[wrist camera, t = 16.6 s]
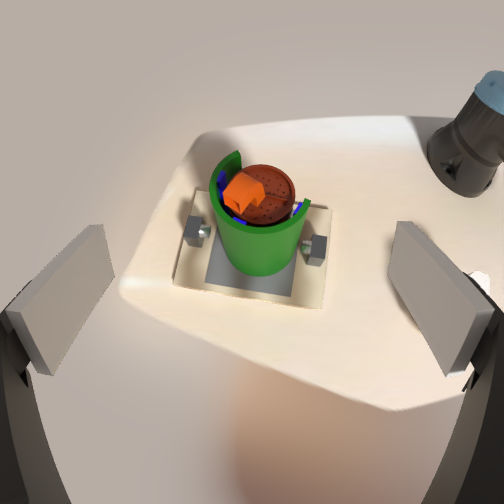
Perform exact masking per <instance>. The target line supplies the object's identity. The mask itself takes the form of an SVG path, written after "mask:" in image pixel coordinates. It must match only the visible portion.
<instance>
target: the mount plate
mask: <svg viewBox="0 0 504 504" xmlns="http://www.w3.org/2000/svg"><path fill="white" fill-rule="evenodd" d="M297 206H298V205H297V204H294V205H293V210H292V214H291V218H292V216H293V212H294V211H295V209H296V208H297ZM190 215H191V216H198V217H203V220H204V222H205V225H211V234H210V237H209V238H204V242H203V246H202V248H198V247H192V246H188V244H187V242H186V241H185V239H184V240H183V244H182V248H181V252H180V256H179V261H178V265H177V269H176V273H175V277H174V282H173V284H174V285H175V286H179V287H184V288H189V289H195V290H200V291H205V292H211V293H216V294H222V295H228V296H233V297H239V298H245V299H251V300H257V301H263V302H269V303H275V304H281V305H288V306H294V307H301V308H308V309H314V310H321V309H322V304H323V296H324V288H325V280H326V271H327V262H328V252H329V242H330V232H331V220H332V210H327V209H321V208H315V207H309V209H308V212H307V215H306V218H305V221H304V224H303V227H302V230H301V233H300V236H299V239H298V242H297V245H296V248H295V251H294V254H293V257H292V259H291V260H290V262H289V263H288V264H287V266H286V267H284V268H283V269H282V270H281V271H279V272H277V273H275V274H273V275H270V276H264V277H256V276H250V275H247V274H245V273H242V272H241V271H239V270H238V269H236V268H235V267H234V266H233V265H232V264H231V262H230V261H229V259H228V257H227V255H226V252H225V249H224V245H223V242H222V238H221V235H220V231H219V228H218V224H217V221H216V217H215V214H214V210H213V206H212V203H211V199H210V194H209V192H206V191H198V190H197V191H196V195H195V199H194V202H193V206H192V210H191V213H190ZM313 234H315V235H321V236H327V247H326V256H325V260H324V262H323V263H322V265H321V266H320V267H317V266H310V265H306V262H307V254H304V253H301V244H302V240H308V241H310V240H311V237H312V235H313Z"/></svg>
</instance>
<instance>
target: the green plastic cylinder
mask: <svg viewBox="0 0 504 504" xmlns="http://www.w3.org/2000/svg"><path fill="white" fill-rule="evenodd" d="M209 194H210V199H211V203H212V206H213V210H214V214H215V217H216V221H217V224H218V228H219V231H220V235H221V238H222V242H223V245H224V249H225V252H226V255H227V257H228V259H229V261H230V262H231V264H232V265H233V266H234V267H235V268H236V269H238V270H239V271H241V272H242V273H245V274H247V275H250V276H256V277H264V276H270V275H273V274H275V273H277V272H279V271H281V270H282V269H283V268H284V267H286V266H287V264H288V263H289V262H290V260H291V259H292V257H293V254H294V251H295V248H296V245H297V242H298V239H299V236H300V233H301V230H302V227H303V224H304V221H305V218H306V215H307V212H308V209H309V206H310V203H311V200H308V199H306V198H305V199H304V202H303V203H299V204H298V206H297V208H296V209H295V211H294V212H293V216H292V218H291V214H292V210H293V205H294V201H295V188H294V185H293V183H292V181H291V179H290V178H289V177H288V176H287V175H286V174H285V173H284V172H283V171H281V170H280V169H278V168H276V167H273V166H270V165H262V164H260V165H252V166H248V167H246V168H244V169H242V167H241V154H240V153H239V151H238V150H237V151H235V152H233V153H231V154H229V155H228V156H227V157H225V158H224V159H223V160H222V161H221V162H220V163H219V164H218V166H217V167H216V168H215V170H214V172H213V174H212V177H211V180H210V185H209Z"/></svg>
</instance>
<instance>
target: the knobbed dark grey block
mask: <svg viewBox="0 0 504 504" xmlns="http://www.w3.org/2000/svg"><path fill="white" fill-rule="evenodd" d="M210 234H211V225H205V222H204V220H203V217H198V216H191V215H189V216H188V220H187V223H186V227H185V231H184V235H183V238H184V239H185V241H186V242H187V244H188V246H192V247H198V248H202V246H203V242H204V238H209V237H210Z"/></svg>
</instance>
